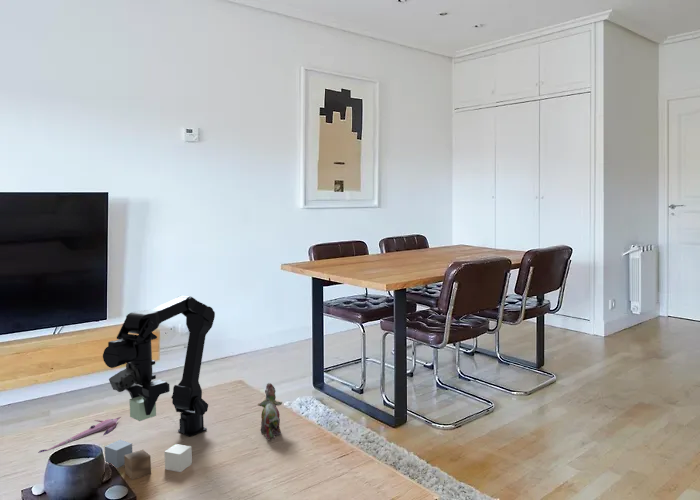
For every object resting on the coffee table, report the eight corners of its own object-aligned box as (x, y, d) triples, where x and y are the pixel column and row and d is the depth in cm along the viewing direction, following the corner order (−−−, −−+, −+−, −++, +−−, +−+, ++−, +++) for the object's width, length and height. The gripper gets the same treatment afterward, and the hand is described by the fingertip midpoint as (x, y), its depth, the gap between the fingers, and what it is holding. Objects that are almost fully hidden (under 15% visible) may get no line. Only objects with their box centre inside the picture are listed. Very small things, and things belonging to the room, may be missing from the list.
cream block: (176, 461, 154) (176, 443, 154) (191, 464, 153) (191, 446, 152) (164, 469, 150) (164, 451, 149) (180, 472, 148) (179, 454, 148)
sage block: (146, 411, 159) (145, 394, 159) (156, 415, 156) (155, 398, 155) (130, 416, 155) (129, 399, 155) (139, 421, 152) (138, 403, 152)
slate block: (120, 456, 157) (120, 439, 157) (132, 460, 155) (132, 443, 154) (105, 463, 153) (104, 446, 153) (117, 468, 151) (116, 450, 150)
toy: (112, 408, 185) (132, 418, 180) (112, 415, 186) (132, 425, 181) (28, 444, 161) (49, 457, 157) (29, 452, 162) (49, 464, 157)
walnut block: (143, 467, 151) (142, 449, 151) (151, 473, 147) (150, 455, 147) (125, 473, 148) (124, 455, 147) (132, 480, 144) (131, 461, 144)
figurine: (285, 426, 178) (284, 380, 176) (277, 442, 166) (276, 393, 165) (261, 425, 179) (260, 379, 177) (251, 441, 167) (250, 392, 165)
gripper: (96, 358, 154) (98, 413, 155) (130, 371, 142) (133, 430, 143) (133, 349, 162) (136, 401, 164) (169, 361, 150) (171, 417, 152)
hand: (143, 412), depth 155 cm, fingers closed on sage block, 5 cm apart
